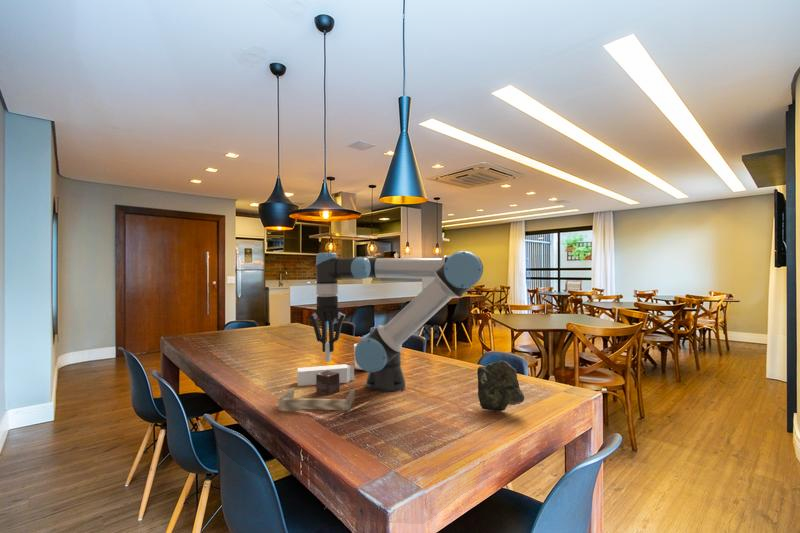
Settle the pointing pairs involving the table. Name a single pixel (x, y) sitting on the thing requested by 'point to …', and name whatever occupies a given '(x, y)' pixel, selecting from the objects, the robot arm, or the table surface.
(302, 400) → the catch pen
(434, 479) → the table surface
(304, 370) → the milk
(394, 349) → the robot arm
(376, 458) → the table surface
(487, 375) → the stone
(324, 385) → the box
